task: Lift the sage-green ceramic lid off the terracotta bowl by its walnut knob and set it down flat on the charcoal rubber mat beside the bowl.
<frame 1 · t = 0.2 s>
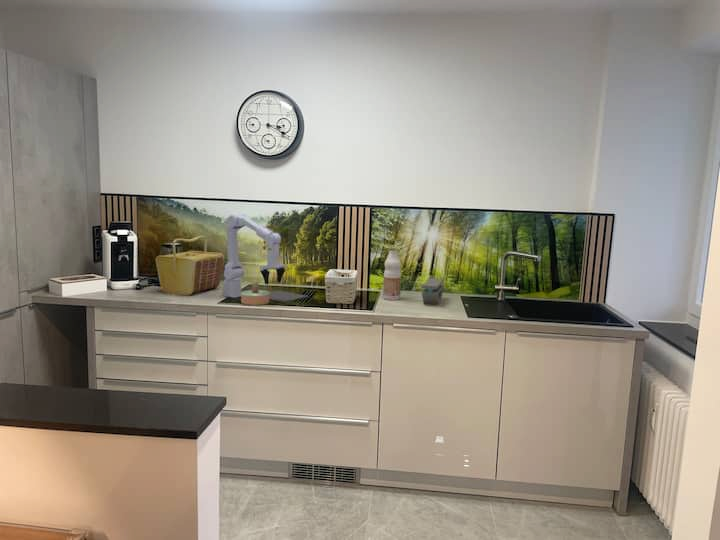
hand: (272, 283, 296), 10 cm above the countertop, tool pointing down, fingers open, 7 cm apart
bowl: (255, 302, 296), on the countertop
rubber mat: (280, 296, 312), on the countertop
fruit juice: (391, 298, 316), on the countertop
lid: (255, 293, 295), point 4 cm above the countertop, touching bowl
storage basket: (341, 300, 310), on the countertop
picnic basket: (191, 290, 322), on the countertop
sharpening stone: (432, 302, 311), on the countertop
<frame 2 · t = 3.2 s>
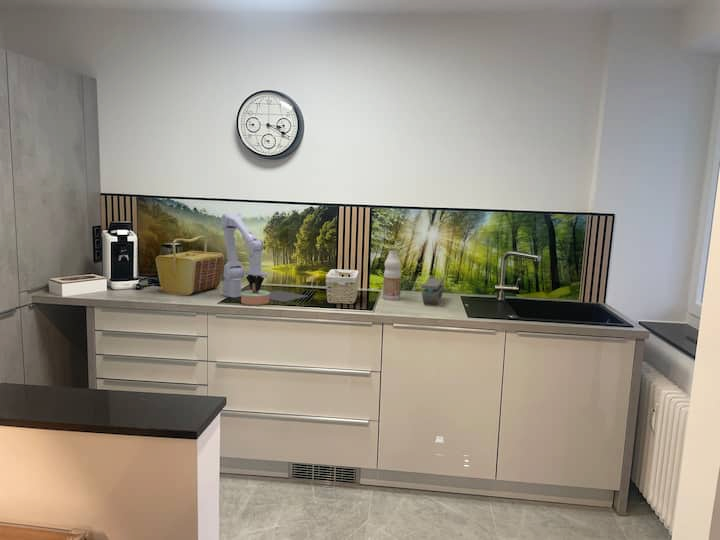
hand: (255, 290, 295), 6 cm above the countertop, tool pointing down, fingers closed on lid, 3 cm apart
lid: (255, 293, 295), point 4 cm above the countertop, touching bowl, gripper
when the fingers open (4 cm above the countertop, at t = 7.4 s): lid drops 1 cm, resting on rubber mat.
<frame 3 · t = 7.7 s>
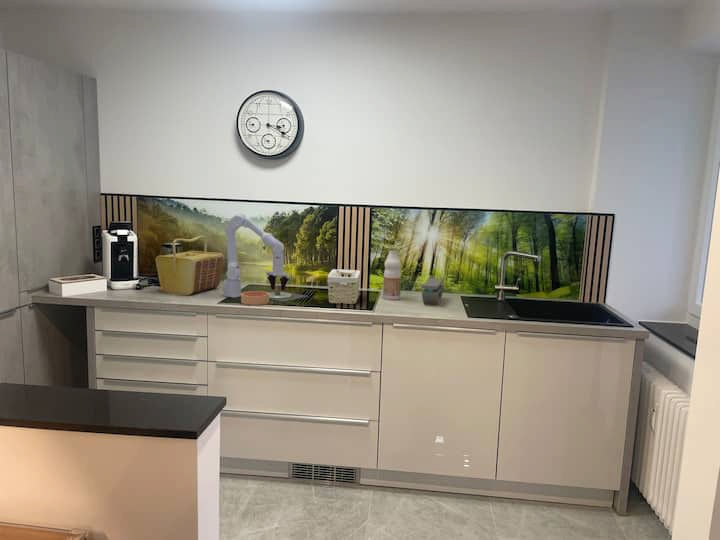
hand: (278, 289, 311), 4 cm above the countertop, tool pointing down, fingers open, 6 cm apart
lid: (277, 295, 311), point 1 cm above the countertop, touching rubber mat
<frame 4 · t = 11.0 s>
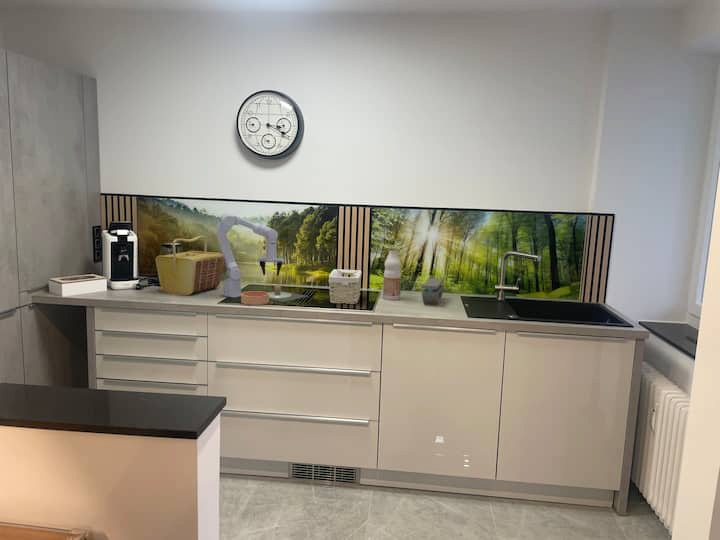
hand: (271, 275, 318), 10 cm above the countertop, tool pointing down, fingers open, 7 cm apart
at the end: lid inside the target area on the rubber mat (1.7 cm from its centre), point 0.7 cm above the rubber mat's base; lid touching rubber mat; lid tilted 1° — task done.
